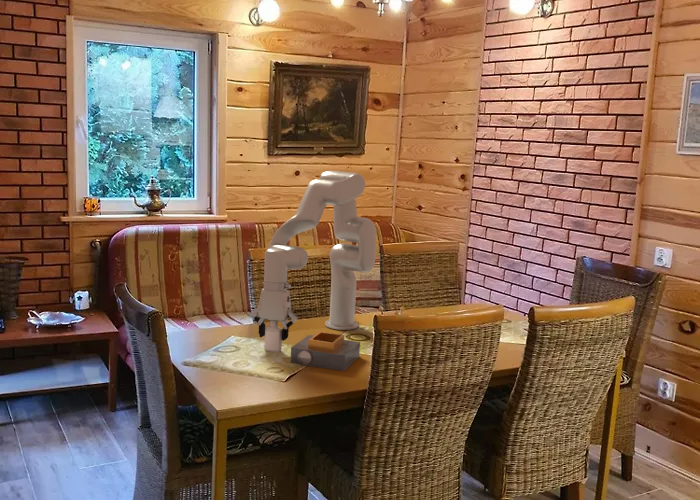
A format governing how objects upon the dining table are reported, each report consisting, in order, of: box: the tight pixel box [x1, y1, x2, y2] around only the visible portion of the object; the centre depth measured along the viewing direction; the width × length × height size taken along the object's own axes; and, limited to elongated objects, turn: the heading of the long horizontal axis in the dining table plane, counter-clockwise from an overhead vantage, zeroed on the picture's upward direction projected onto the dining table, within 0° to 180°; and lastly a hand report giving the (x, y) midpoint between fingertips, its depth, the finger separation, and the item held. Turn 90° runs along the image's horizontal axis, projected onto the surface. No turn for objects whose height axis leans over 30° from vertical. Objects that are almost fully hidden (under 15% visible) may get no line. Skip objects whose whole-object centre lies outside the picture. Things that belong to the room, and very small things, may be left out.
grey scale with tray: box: [290, 331, 361, 372], centre depth 234 cm, size 18×18×8 cm
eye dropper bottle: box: [263, 320, 283, 353], centre depth 240 cm, size 4×6×12 cm
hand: (273, 337), depth 240 cm, fingers open, 7 cm apart
